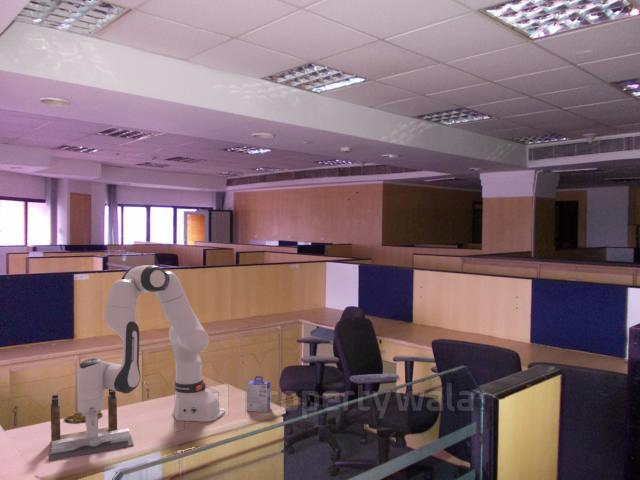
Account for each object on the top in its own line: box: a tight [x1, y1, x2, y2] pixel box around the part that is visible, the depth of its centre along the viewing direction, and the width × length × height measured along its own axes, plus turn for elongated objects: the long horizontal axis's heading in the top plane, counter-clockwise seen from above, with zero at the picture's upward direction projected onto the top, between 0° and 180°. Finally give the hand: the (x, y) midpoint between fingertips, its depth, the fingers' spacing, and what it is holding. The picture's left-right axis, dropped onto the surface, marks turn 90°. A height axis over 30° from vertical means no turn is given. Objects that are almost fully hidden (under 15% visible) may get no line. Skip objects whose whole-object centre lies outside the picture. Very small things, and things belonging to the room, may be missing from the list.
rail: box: [51, 427, 131, 451], centre depth 191 cm, size 26×3×2 cm, turn 116°
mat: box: [48, 434, 134, 462], centre depth 191 cm, size 28×10×1 cm, turn 116°
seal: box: [63, 411, 104, 424], centre depth 220 cm, size 9×5×15 cm
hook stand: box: [50, 389, 118, 448], centre depth 200 cm, size 23×6×18 cm, turn 116°
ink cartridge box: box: [245, 375, 271, 413], centre depth 229 cm, size 10×6×14 cm, turn 81°
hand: (92, 441), depth 191 cm, fingers closed on rail, 3 cm apart
